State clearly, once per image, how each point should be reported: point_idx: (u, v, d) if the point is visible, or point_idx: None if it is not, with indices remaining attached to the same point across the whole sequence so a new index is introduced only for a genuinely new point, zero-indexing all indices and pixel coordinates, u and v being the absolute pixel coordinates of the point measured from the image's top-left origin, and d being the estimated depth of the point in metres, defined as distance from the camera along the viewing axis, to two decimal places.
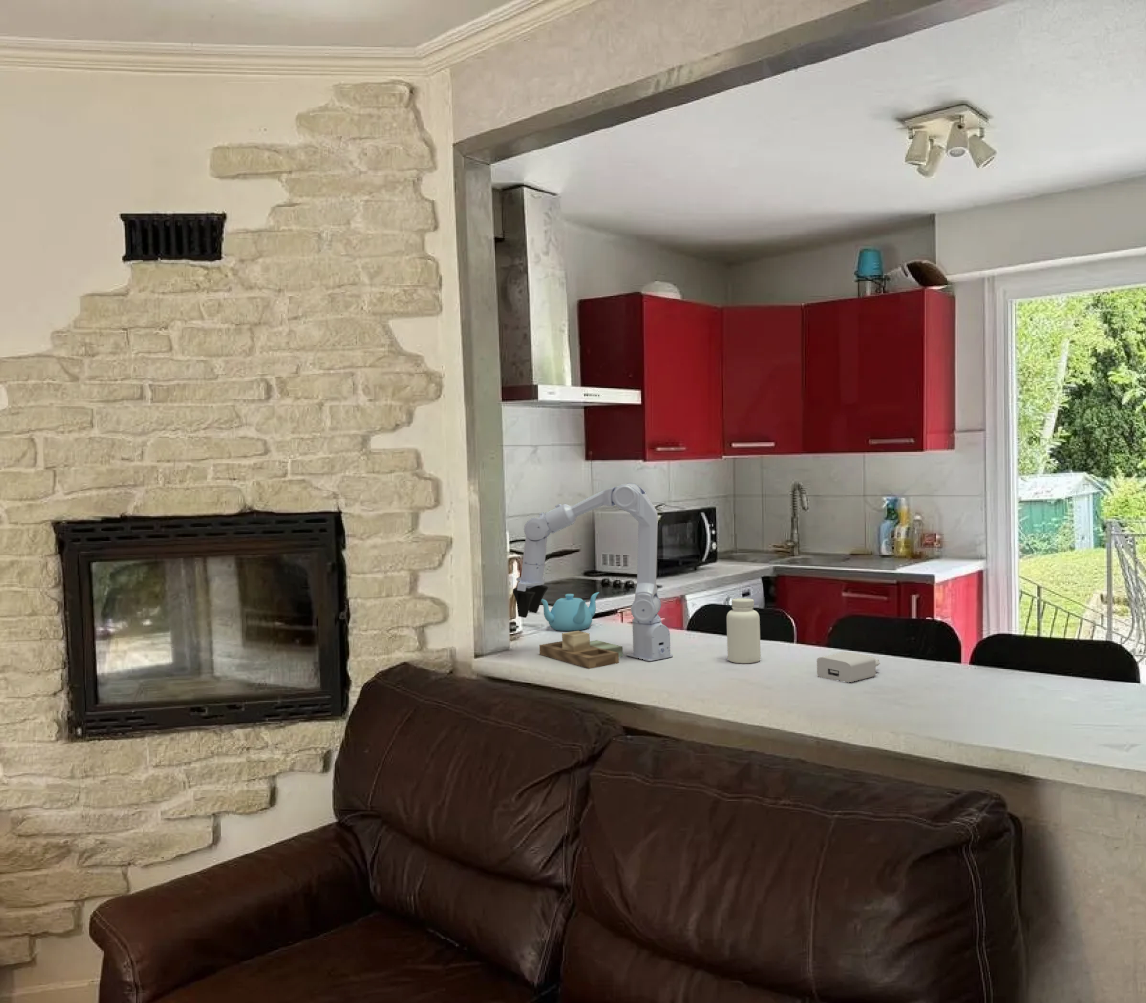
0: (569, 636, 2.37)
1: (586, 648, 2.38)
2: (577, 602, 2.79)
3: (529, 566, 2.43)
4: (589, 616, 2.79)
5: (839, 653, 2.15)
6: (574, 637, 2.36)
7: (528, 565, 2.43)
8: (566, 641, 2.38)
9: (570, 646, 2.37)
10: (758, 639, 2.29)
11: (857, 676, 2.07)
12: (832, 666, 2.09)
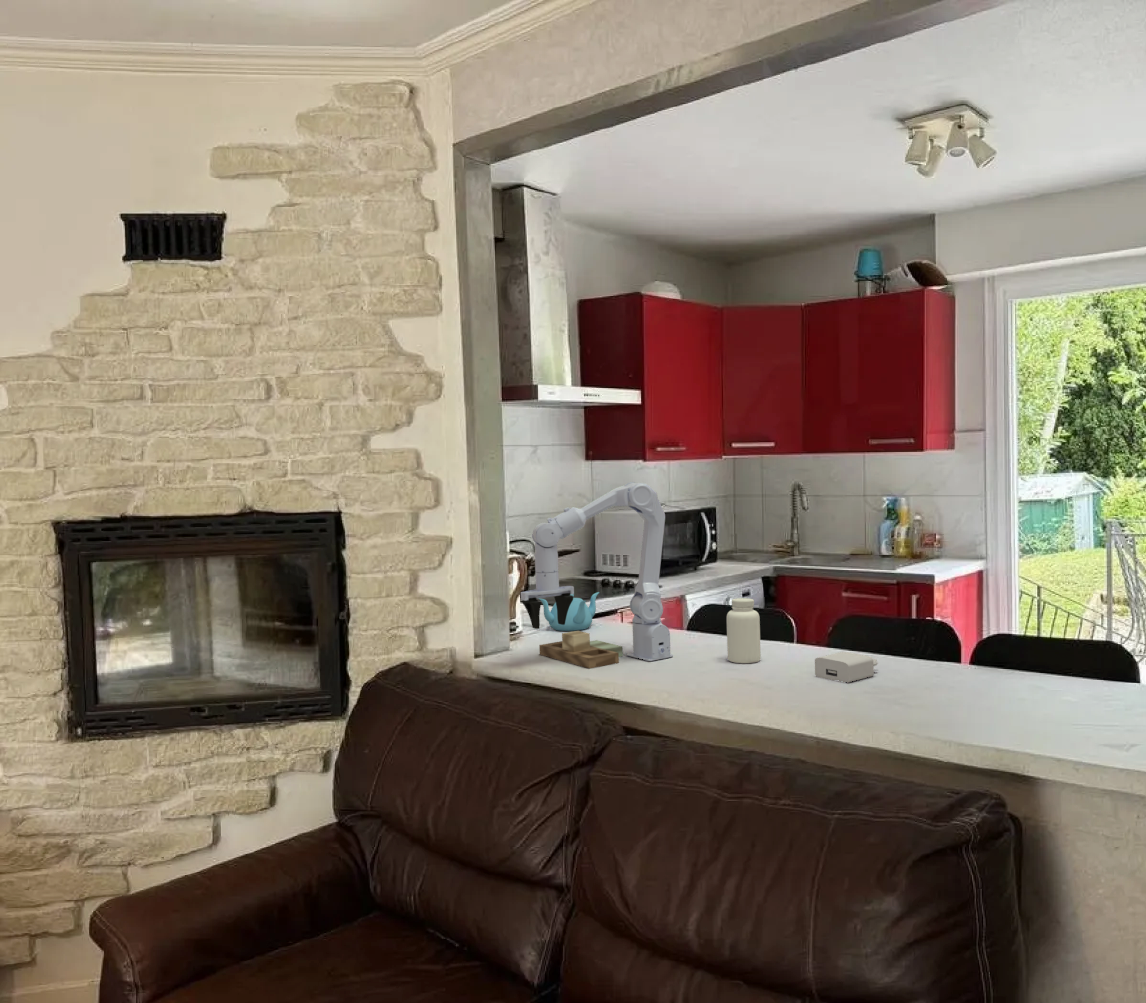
0: (569, 636, 2.37)
1: (586, 648, 2.38)
2: (577, 602, 2.79)
3: (537, 575, 2.32)
4: (589, 616, 2.79)
5: (837, 653, 2.15)
6: (574, 637, 2.36)
7: (536, 573, 2.32)
8: (566, 641, 2.38)
9: (570, 646, 2.37)
10: (758, 639, 2.29)
11: (855, 676, 2.07)
12: (830, 666, 2.09)
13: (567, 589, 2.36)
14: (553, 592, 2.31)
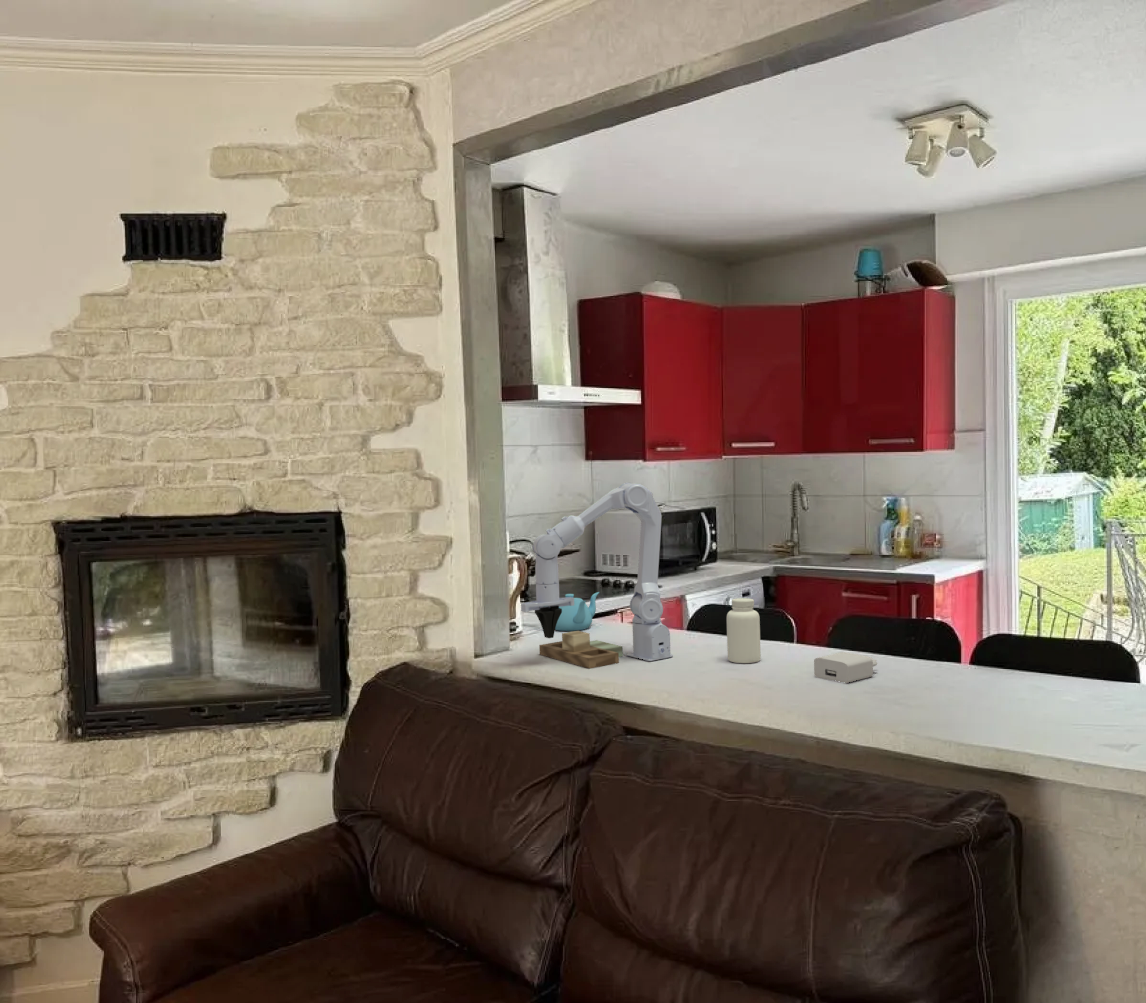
0: (569, 636, 2.37)
1: (586, 648, 2.38)
2: (577, 602, 2.79)
3: (537, 586, 2.32)
4: (589, 616, 2.79)
5: (836, 653, 2.15)
6: (574, 637, 2.36)
7: (537, 585, 2.33)
8: (566, 641, 2.38)
9: (570, 646, 2.37)
10: (758, 639, 2.29)
11: (854, 676, 2.07)
12: (830, 666, 2.09)
13: (567, 600, 2.36)
14: (553, 603, 2.31)
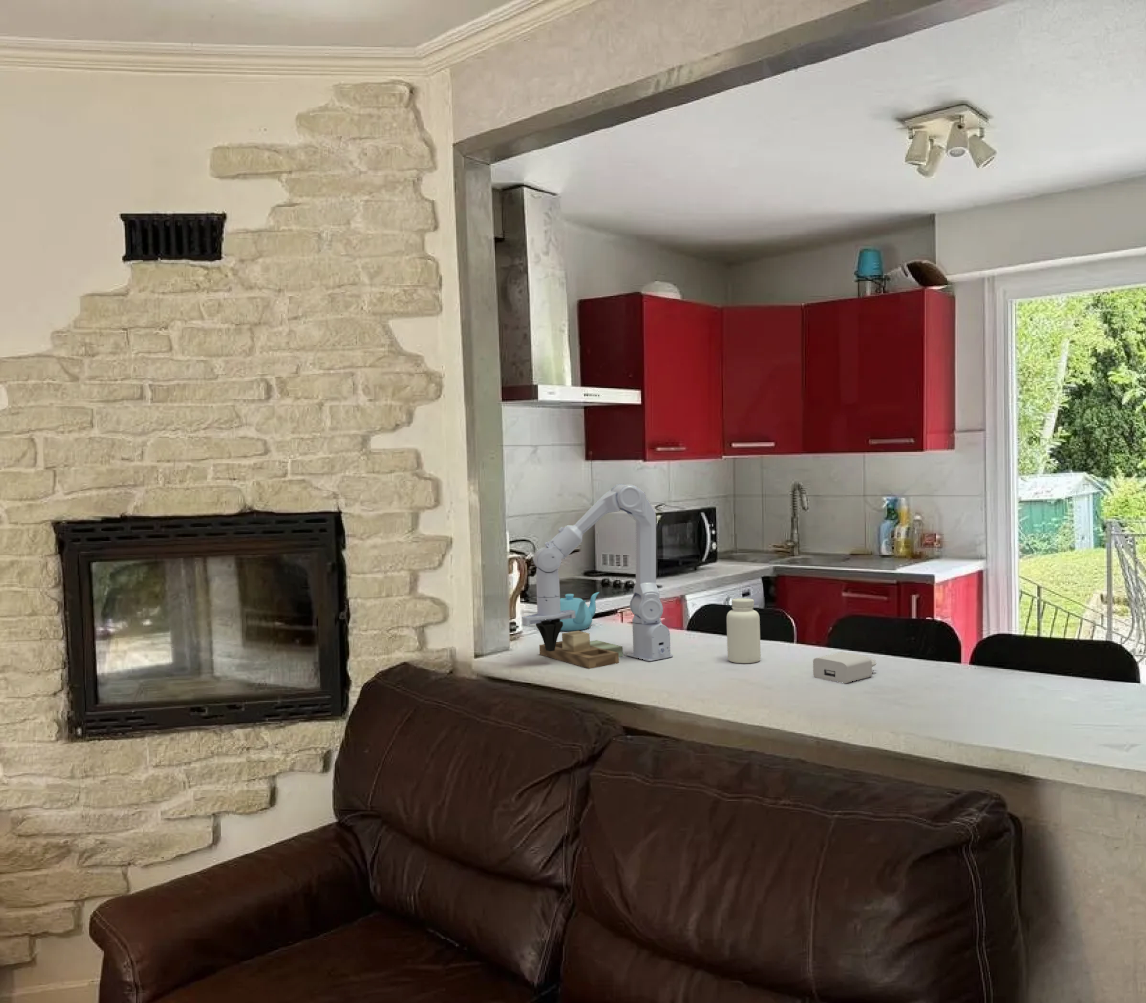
0: (569, 636, 2.37)
1: (586, 648, 2.38)
2: (577, 602, 2.79)
3: (538, 600, 2.32)
4: (589, 616, 2.79)
5: (835, 654, 2.15)
6: (574, 637, 2.36)
7: (538, 598, 2.33)
8: (566, 641, 2.38)
9: (570, 646, 2.37)
10: (758, 639, 2.29)
11: (853, 676, 2.07)
12: (828, 666, 2.09)
13: (568, 613, 2.36)
14: (554, 617, 2.32)
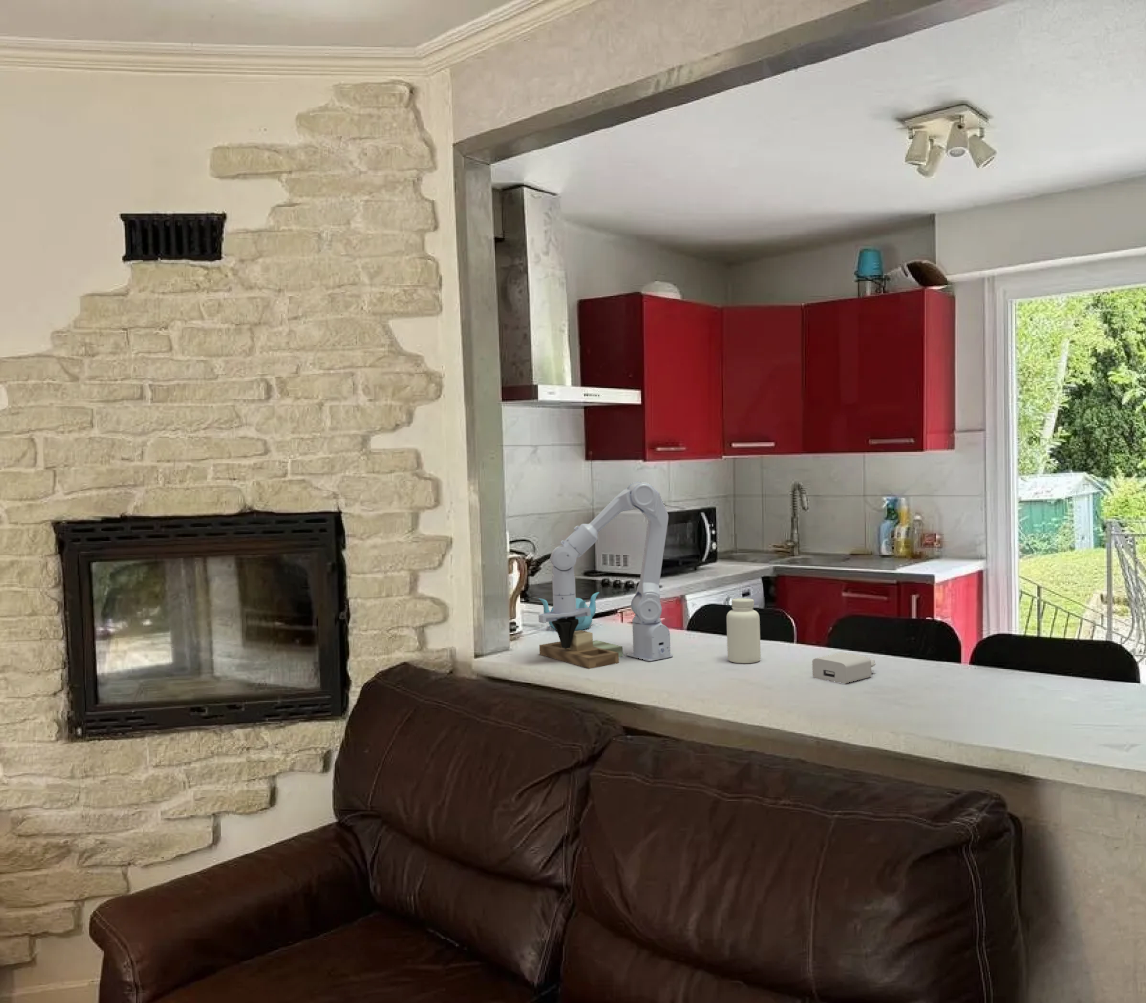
0: None
1: (589, 647, 2.39)
2: (577, 602, 2.79)
3: (555, 597, 2.35)
4: (589, 616, 2.79)
5: (835, 654, 2.14)
6: (577, 636, 2.36)
7: (554, 596, 2.35)
8: None
9: (573, 645, 2.37)
10: (758, 639, 2.29)
11: (853, 677, 2.06)
12: (828, 667, 2.09)
13: (584, 611, 2.39)
14: (570, 614, 2.34)
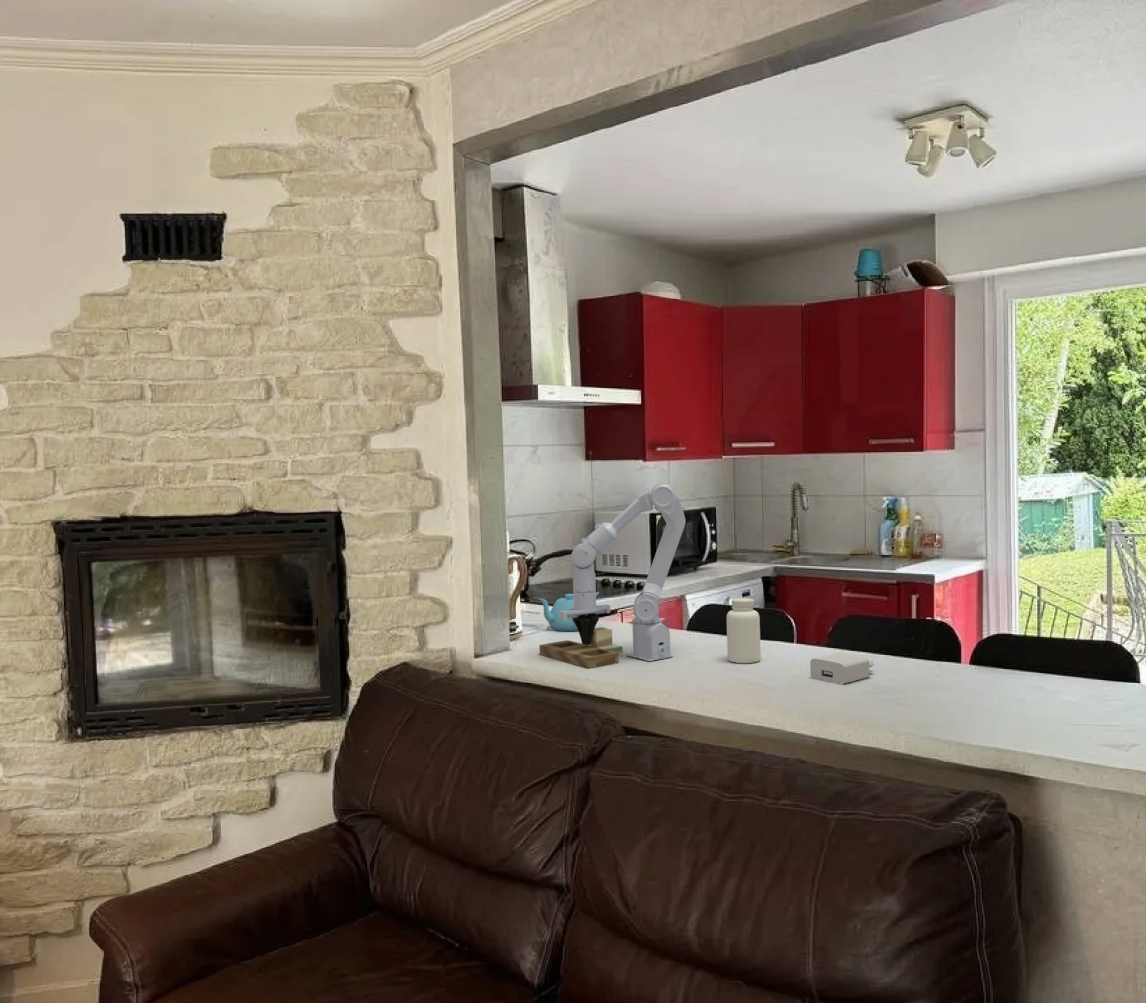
0: None
1: (609, 644, 2.42)
2: None
3: (575, 594, 2.39)
4: None
5: (833, 654, 2.14)
6: (597, 633, 2.40)
7: (574, 593, 2.39)
8: None
9: (593, 642, 2.41)
10: (758, 639, 2.29)
11: (851, 677, 2.06)
12: (826, 667, 2.08)
13: (604, 608, 2.42)
14: (591, 611, 2.38)
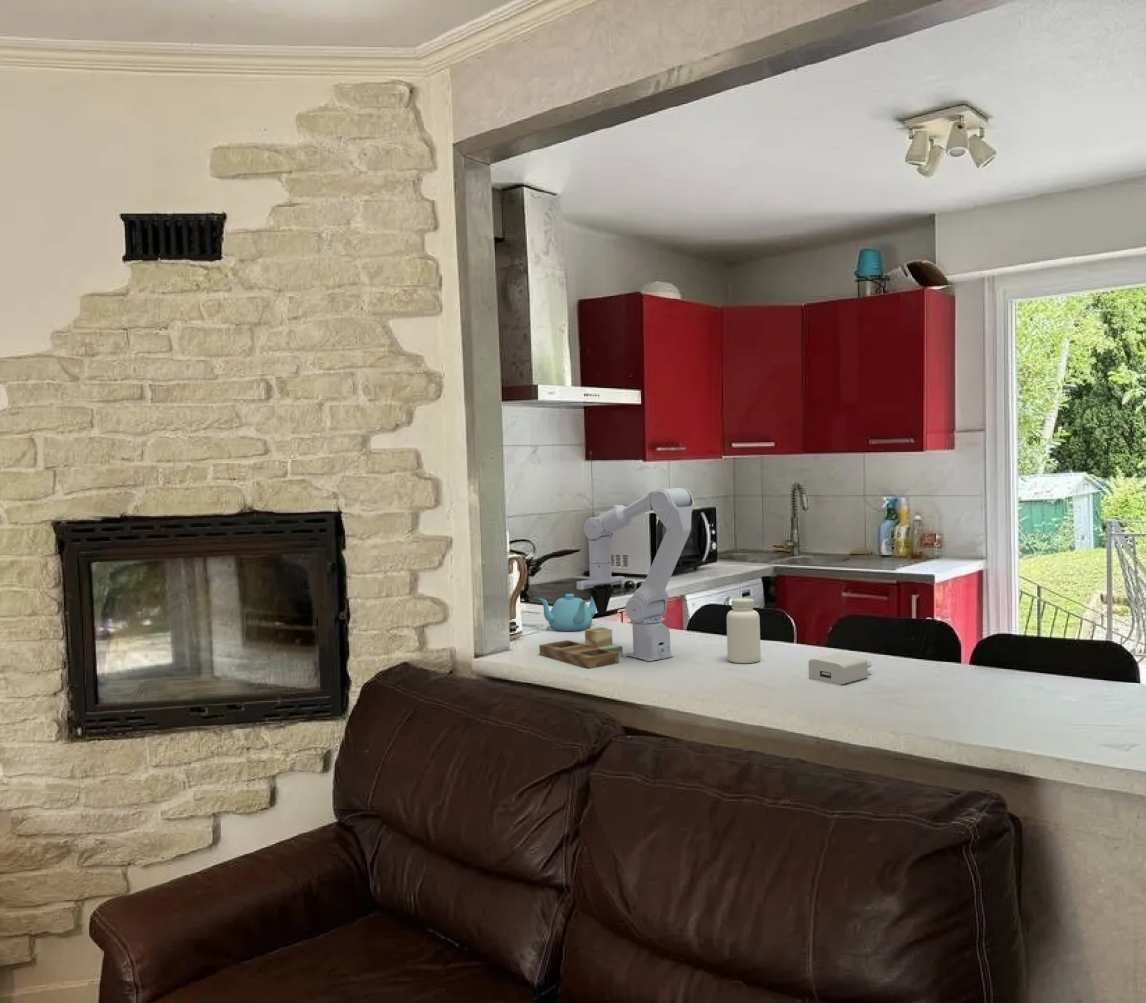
0: (592, 632, 2.41)
1: (609, 644, 2.42)
2: (577, 602, 2.79)
3: (591, 566, 2.47)
4: (589, 616, 2.79)
5: (831, 655, 2.14)
6: (597, 633, 2.40)
7: (591, 564, 2.48)
8: (589, 637, 2.42)
9: (593, 642, 2.41)
10: (758, 639, 2.29)
11: (849, 678, 2.05)
12: (824, 668, 2.08)
13: (618, 579, 2.51)
14: (607, 582, 2.47)
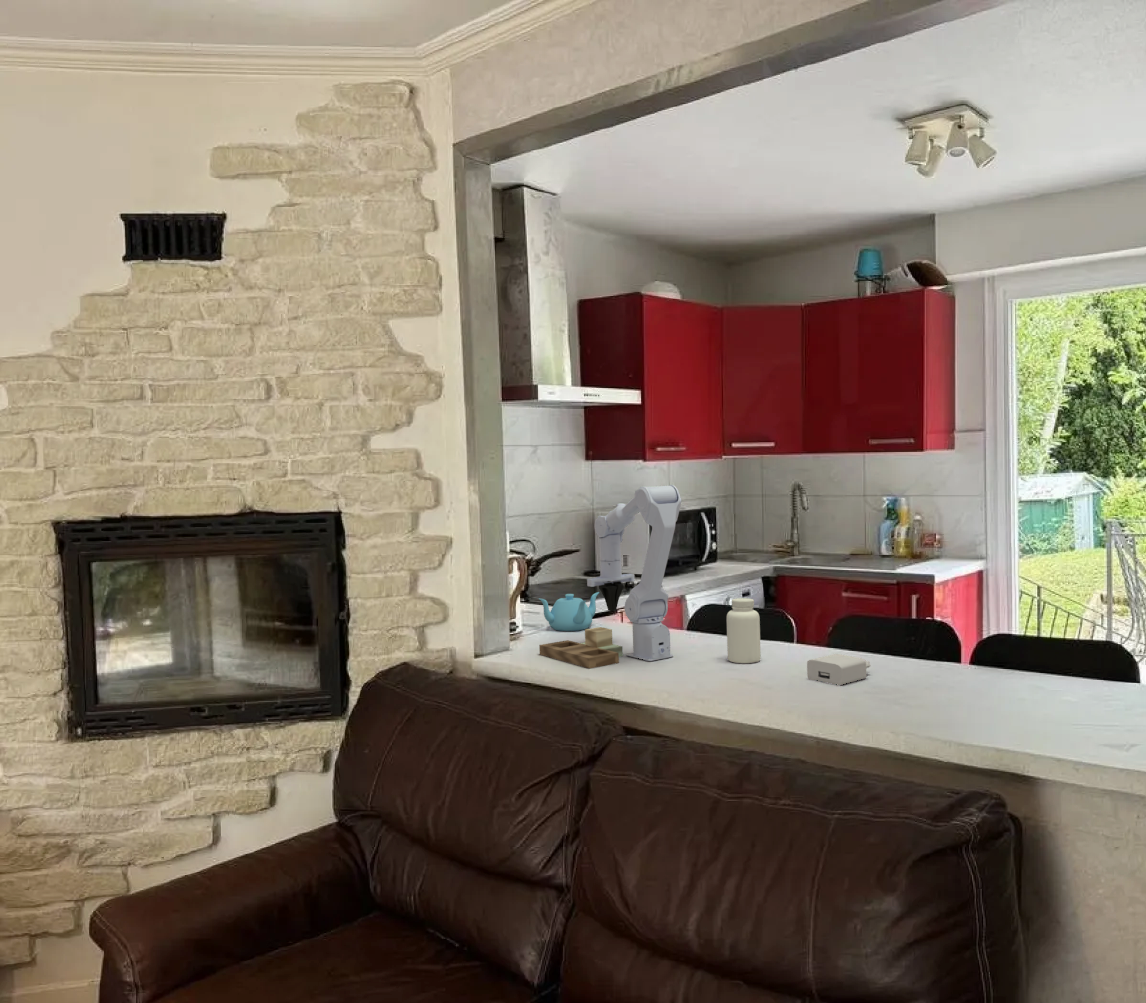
0: (592, 632, 2.41)
1: (609, 644, 2.42)
2: (577, 602, 2.79)
3: (602, 563, 2.52)
4: (589, 616, 2.79)
5: (829, 655, 2.13)
6: (597, 633, 2.40)
7: (601, 562, 2.52)
8: (589, 637, 2.42)
9: (593, 642, 2.41)
10: (758, 639, 2.29)
11: (848, 678, 2.05)
12: (823, 668, 2.07)
13: (628, 576, 2.56)
14: (617, 579, 2.51)
